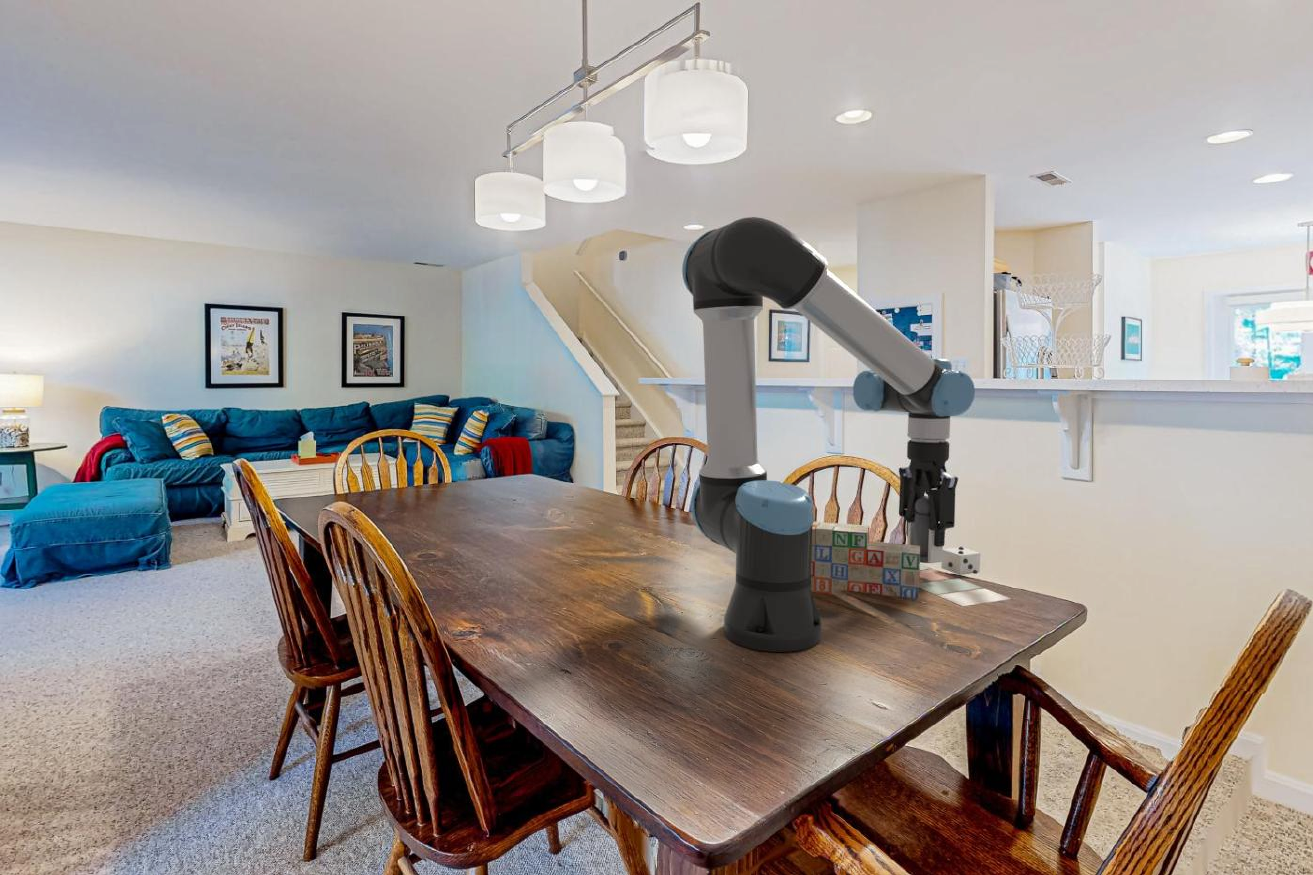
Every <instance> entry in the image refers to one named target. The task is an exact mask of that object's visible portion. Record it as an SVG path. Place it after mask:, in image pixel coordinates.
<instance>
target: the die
mask: <svg viewBox="0 0 1313 875" xmlns="http://www.w3.org/2000/svg"><path fill="white" fill-rule="evenodd" d="M940 563H941V564H940V565H941V566H940V567H941V569H943V570H945V571H948V572H951V573H952V574H957V575H959V576H963V575H971V574H978V573H980V569H981V568H980V567H981V553H980V552H977V551H976V550H972V549H969V548H965V547H963V546H958V547H950V548H942V562H940Z"/></svg>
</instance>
